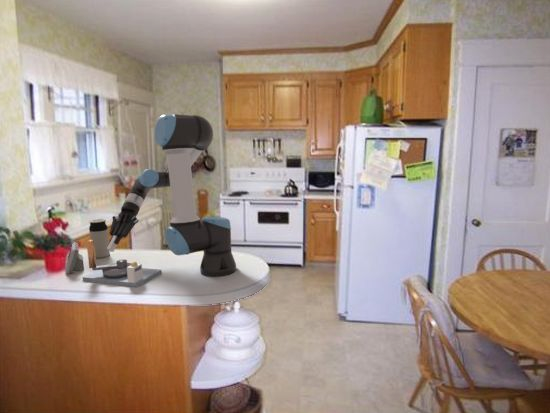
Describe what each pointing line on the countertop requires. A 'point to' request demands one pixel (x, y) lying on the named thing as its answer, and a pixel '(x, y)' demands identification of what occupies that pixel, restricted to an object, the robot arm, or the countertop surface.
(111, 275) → the crank
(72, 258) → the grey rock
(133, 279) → the stand
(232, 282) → the countertop surface
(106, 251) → the travel mug
